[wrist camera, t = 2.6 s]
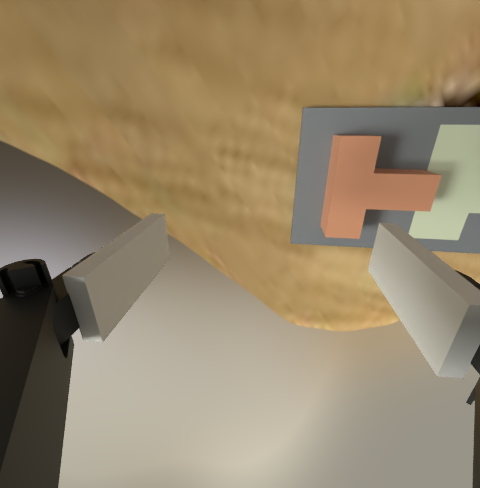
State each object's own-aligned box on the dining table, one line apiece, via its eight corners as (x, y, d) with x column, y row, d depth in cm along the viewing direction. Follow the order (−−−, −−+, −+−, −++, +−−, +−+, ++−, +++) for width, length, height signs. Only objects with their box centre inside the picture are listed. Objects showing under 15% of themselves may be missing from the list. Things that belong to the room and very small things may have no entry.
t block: (320, 225, 31) (325, 237, 28) (333, 134, 27) (341, 135, 23) (404, 229, 30) (420, 241, 26) (432, 135, 26) (454, 136, 22)
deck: (290, 240, 33) (290, 243, 32) (302, 108, 27) (303, 107, 26) (515, 251, 30) (522, 255, 29) (587, 107, 24) (599, 106, 23)
